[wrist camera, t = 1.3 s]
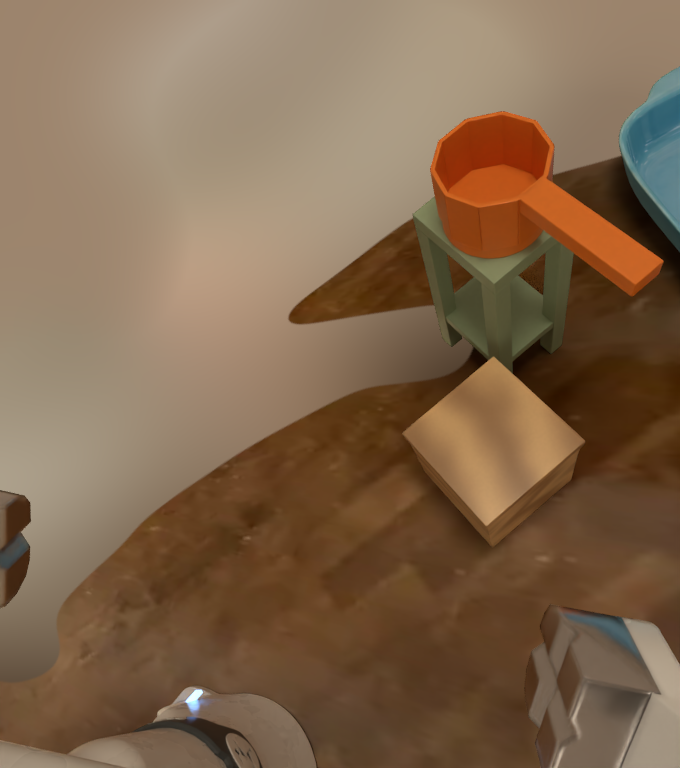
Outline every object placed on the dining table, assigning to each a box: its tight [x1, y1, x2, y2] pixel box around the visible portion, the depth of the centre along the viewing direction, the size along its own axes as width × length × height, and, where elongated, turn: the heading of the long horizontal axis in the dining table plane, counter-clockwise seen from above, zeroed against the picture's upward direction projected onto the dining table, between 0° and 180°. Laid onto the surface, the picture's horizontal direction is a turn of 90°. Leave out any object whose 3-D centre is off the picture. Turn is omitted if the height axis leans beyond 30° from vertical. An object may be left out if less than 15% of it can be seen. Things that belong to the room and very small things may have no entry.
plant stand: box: [413, 197, 574, 374], centre depth 56 cm, size 8×9×21 cm
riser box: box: [402, 356, 585, 547], centre depth 55 cm, size 10×10×12 cm
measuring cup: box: [430, 111, 663, 296], centre depth 42 cm, size 17×8×6 cm, turn 38°
